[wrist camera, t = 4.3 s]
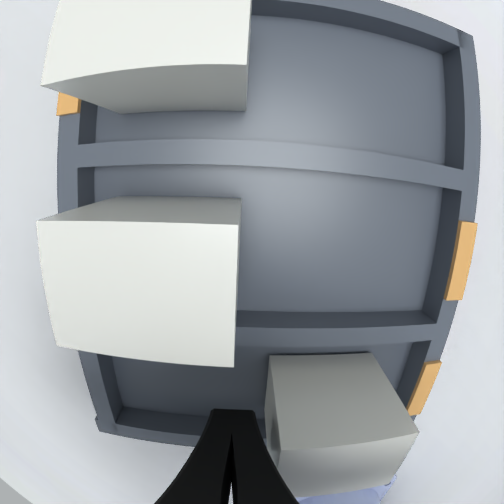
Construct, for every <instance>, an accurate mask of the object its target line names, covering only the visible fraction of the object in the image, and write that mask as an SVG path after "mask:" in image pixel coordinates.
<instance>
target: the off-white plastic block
mask: <svg viewBox="0 0 504 504" xmlns="http://www.w3.org/2000/svg"><path fill="white" fill-rule="evenodd" d="M251 11H252V0H59V3H58V7H57V10H56V14H55V17H54V21H53V25H52V29H51V33H50V37H49V42H48V46H47V51H46V56H45V61H44V67H43V73H42V79H41V86H43V87H46V88H49V89H52V90H55V91H58V92H61V93H64V94H67V95H70V96H73V97H76V98H79V99H81V100H84V101H87V102H90V103H93V104H95V105H98V106H101V107H104V108H106V109H109V110H112V111H114V112H117V113H119V114H128V113H141V112H159V111H192V110H216V111H246V102H247V84H248V67H249V50H250V34H251Z"/></svg>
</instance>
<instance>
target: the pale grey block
mask: <svg viewBox="0 0 504 504" xmlns="http://www.w3.org/2000/svg"><path fill="white" fill-rule="evenodd" d="M264 412H265V425H266V438H267V450H268V452H269V454H270V456H271V458H272V460H273V462H274V464H275V466H276V468H277V470H278V472H279V473H280V475H281V477H282V478H283V480H284V482H285V483H286V485H287V487H288V488H289V490H290V491H291V493H292V494H293V496H294V497H295V498H299V497H311V496H321V495H329V494H337V493H344V492H350V491H356V490H362V489H367V488H372V487H377V486H382V485H386V484H389V483H390V481H391V480H392V478H393V477H394V475H395V474H396V472H397V470H398V469H399V467H400V466H401V464H402V462H403V461H404V459H405V457H406V456H407V454H408V452H409V450H410V449H411V447H412V445H413V443H414V442H415V440H416V438H417V436H418V434H419V430H418V429H417V427H416V425H415V423H414V422H413V420H412V418H411V417H410V415H409V413H408V411H407V410H406V408H405V406H404V405H403V403H402V401H401V400H400V398H399V396H398V395H397V393H396V391H395V390H394V388H393V386H392V385H391V383H390V381H389V380H388V378H387V377H386V375H385V373H384V372H383V370H382V368H381V367H380V365H379V364H378V362H377V360H376V359H375V357H374V356H373V354H372V353H359V354H337V355H270V357H269V367H268V378H267V388H266V397H265V407H264Z"/></svg>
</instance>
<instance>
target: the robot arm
mask: <svg viewBox="0 0 504 504" xmlns="http://www.w3.org/2000/svg"><path fill="white" fill-rule="evenodd" d="M396 478H397V476H396V474H395V475H394V477H393V478H392V480H391V481H390V483H389V484H386V485H382V486H377V487H372V488H367V489H362V490H356V491H350V492H344V493H337V494H329V495H321V496H311V497H299V498H295V497H294V496H293V494H292V493H291V491H290V490H289V488H288V487H287V485H286V483H285V482H284V480H283V478H282V477H281V475H280V473H279V472H278V470H277V468H276V466H275V464H274V462H273V460H272V458H271V456H270V454H269V452H268V450H267V448H266V445H265V443H264V440H263V438H262V435H261V433H260V430H259V427H258V423H257V419H256V415H255V412H254V411H253V410H238V409H217V408H214V409H213V410H211V412H210V415H209V418H208V421H207V424H206V426H205V428H204V430H203V433H202V435H201V437H200V439H199V441H198V442H197V444H196V446H195V448H194V450H193V451H192V453H191V455H190V457H189V458H188V460H187V461H186V463H185V464H184V466H183V467H182V469H181V470H180V472H179V473H178V475H177V476H176V478H175V479H174V480H173V482H172V483H171V484H170V486H169V487H168V488H167V489H166V491H165V492H164V493H163V494H162V495H161V497H160V498H159V499H158V500H157V501H156V502H155V503H154V504H228V502H229V495H230V488H231V482H232V494H233V504H381V502H380V501H381V500H382V498H383V497H384V495H385V494H386V493H387V491H388V490H389V488H390V487H391V485H392V484H393V482H394V481H395V479H396Z"/></svg>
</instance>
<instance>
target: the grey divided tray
mask: <svg viewBox="0 0 504 504" xmlns="http://www.w3.org/2000/svg"><path fill="white" fill-rule="evenodd" d="M56 116H60V118H59V132H58V154H57V198H58V214H59V213H62V212H65V211H69V210H72V209H75V208H79V207H82V206H85V205H89V204H92V203H96V202H99V201H103V200H107V199H110V198H114V197H118V196H168V197H214V198H241V199H242V203H241V227H240V251H239V277H238V297H237V315H236V334H235V353H234V367H217V366H201V365H188V364H176V363H166V362H156V361H147V360H139V359H131V358H124V357H117V356H110V355H104V354H98V353H92V352H86V351H81V350H78V352H79V356H80V360H81V364H82V368H83V371H84V375H85V378H86V382H87V385H88V389H89V392H90V395H91V398H92V401H93V405H94V408H95V411H96V414H97V416H96V418H95V421H96V424H97V427H98V429H99V431H101V432H105V433H109V434H114V435H119V436H124V437H129V438H134V439H140V440H146V441H152V442H159V443H166V444H174V445H182V446H192V447H195V446H196V444H197V442H198V441H199V439H200V437H201V435H202V433H203V430H204V428H205V426H206V424H207V421H208V418H209V415H210V412H211V410H213V409H214V408H217V409H238V410H253V411H254V412H255V415H256V419H257V423H258V427H259V430H260V433H261V435H262V438H263V440H264V443H265V445H266V448H267V438H266V425H265V412H264V407H265V397H266V388H267V378H268V367H269V357H270V355H337V354H359V353H372V354H373V356H374V357H375V359H376V360H377V362H378V364H379V365H380V367H381V368H382V370H383V372H384V373H385V375H386V377H387V378H388V380H389V381H390V383H391V385H392V386H393V388H394V390H395V391H396V393H397V395H398V396H399V398H400V400H401V401H402V403H403V405H404V406H405V408H406V410H407V411H408V413H409V415H410V417H411V418H412V420H413V421H414V419H415V417H416V415H417V414H420V413H421V411H422V409H423V407H424V404H425V402H426V400H427V398H428V395H429V393H430V391H431V389H432V386H433V384H434V381H435V379H436V376H437V374H438V371H439V369H440V366H441V364H442V362H441V361H440V357H441V355H442V352H443V349H444V346H445V343H446V340H447V337H448V334H449V331H450V328H451V324H452V321H453V318H454V314H455V311H456V307H457V303H458V300H462V298H463V294H464V290H465V286H466V282H467V277H468V273H469V268H470V264H471V259H472V254H473V248H474V243H475V237H476V231H477V224H478V223H474V220H475V213H476V204H477V195H478V184H479V170H480V145H481V120H480V96H479V82H478V71H477V63H476V55H475V48H474V41H473V36H471V35H469V34H467V33H465V32H463V31H461V30H459V29H457V28H454V27H452V26H450V25H448V24H445V23H443V22H441V21H438V20H436V19H433V18H431V17H428V16H426V15H423V14H420V13H418V12H415V11H412V10H409V9H406V8H403V7H400V6H397V5H394V4H391V3H387V2H384V1H380V0H252V11H251V34H250V50H249V67H248V84H247V102H246V111H216V110H192V111H159V112H141V113H128V114H119V113H117V112H114V111H112V110H109V109H106V108H104V107H101V106H98V105H95V104H93V103H90V102H87V101H84V100H81V99H79V98H76V97H73V96H70V95H67V94H64V93H61V92H59V95H58V104H57V114H56Z"/></svg>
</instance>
